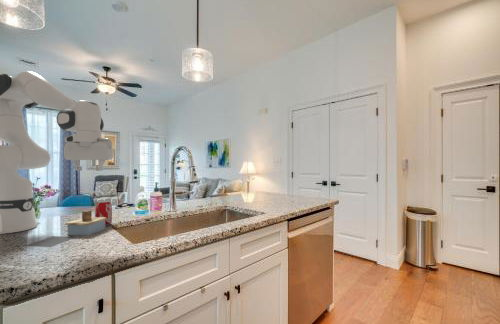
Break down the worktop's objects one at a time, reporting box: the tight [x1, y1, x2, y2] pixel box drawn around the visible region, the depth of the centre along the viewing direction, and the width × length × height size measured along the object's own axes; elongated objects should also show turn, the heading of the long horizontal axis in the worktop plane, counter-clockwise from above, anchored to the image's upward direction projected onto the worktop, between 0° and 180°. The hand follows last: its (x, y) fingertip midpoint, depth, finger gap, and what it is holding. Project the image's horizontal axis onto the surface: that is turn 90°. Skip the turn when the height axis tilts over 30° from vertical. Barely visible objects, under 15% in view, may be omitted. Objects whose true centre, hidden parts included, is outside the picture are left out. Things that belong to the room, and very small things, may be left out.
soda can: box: [94, 199, 113, 227], centre depth 114 cm, size 7×7×12 cm
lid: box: [65, 209, 106, 226], centre depth 102 cm, size 10×10×5 cm
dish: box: [67, 220, 106, 236], centre depth 102 cm, size 10×10×5 cm
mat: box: [24, 235, 77, 248], centre depth 90 cm, size 11×11×1 cm
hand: (88, 170), depth 99 cm, fingers open, 8 cm apart
